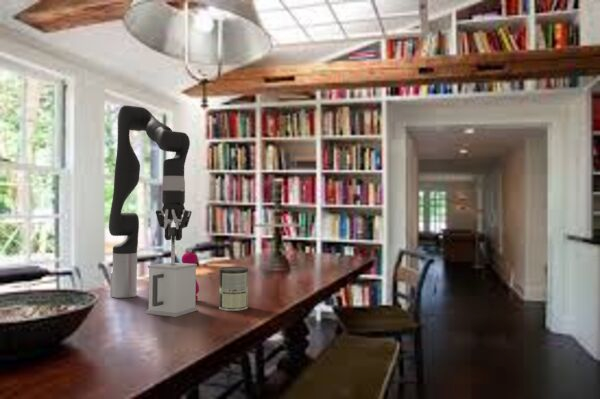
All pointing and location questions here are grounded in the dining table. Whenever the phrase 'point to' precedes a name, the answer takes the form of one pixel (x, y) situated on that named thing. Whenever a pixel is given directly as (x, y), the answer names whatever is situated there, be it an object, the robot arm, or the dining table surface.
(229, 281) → the coffee can
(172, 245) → the grey thin rod
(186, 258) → the pepper mill
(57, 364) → the dining table surface
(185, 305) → the white cabinet
